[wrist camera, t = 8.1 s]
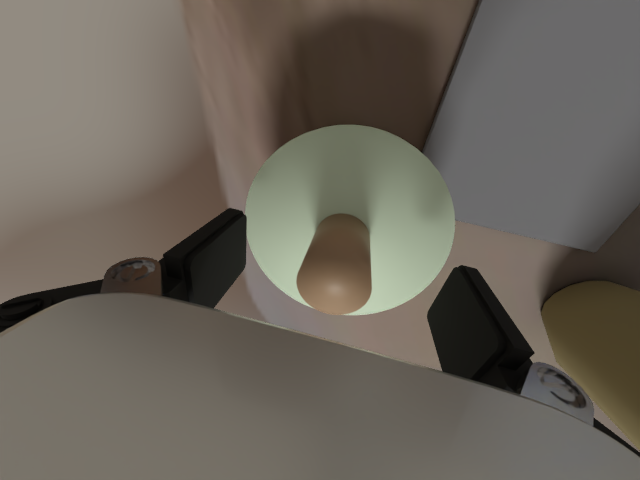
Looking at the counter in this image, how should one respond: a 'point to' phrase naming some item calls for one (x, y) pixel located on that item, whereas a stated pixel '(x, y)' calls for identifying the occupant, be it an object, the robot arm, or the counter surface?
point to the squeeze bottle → (600, 346)
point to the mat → (544, 120)
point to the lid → (350, 220)
